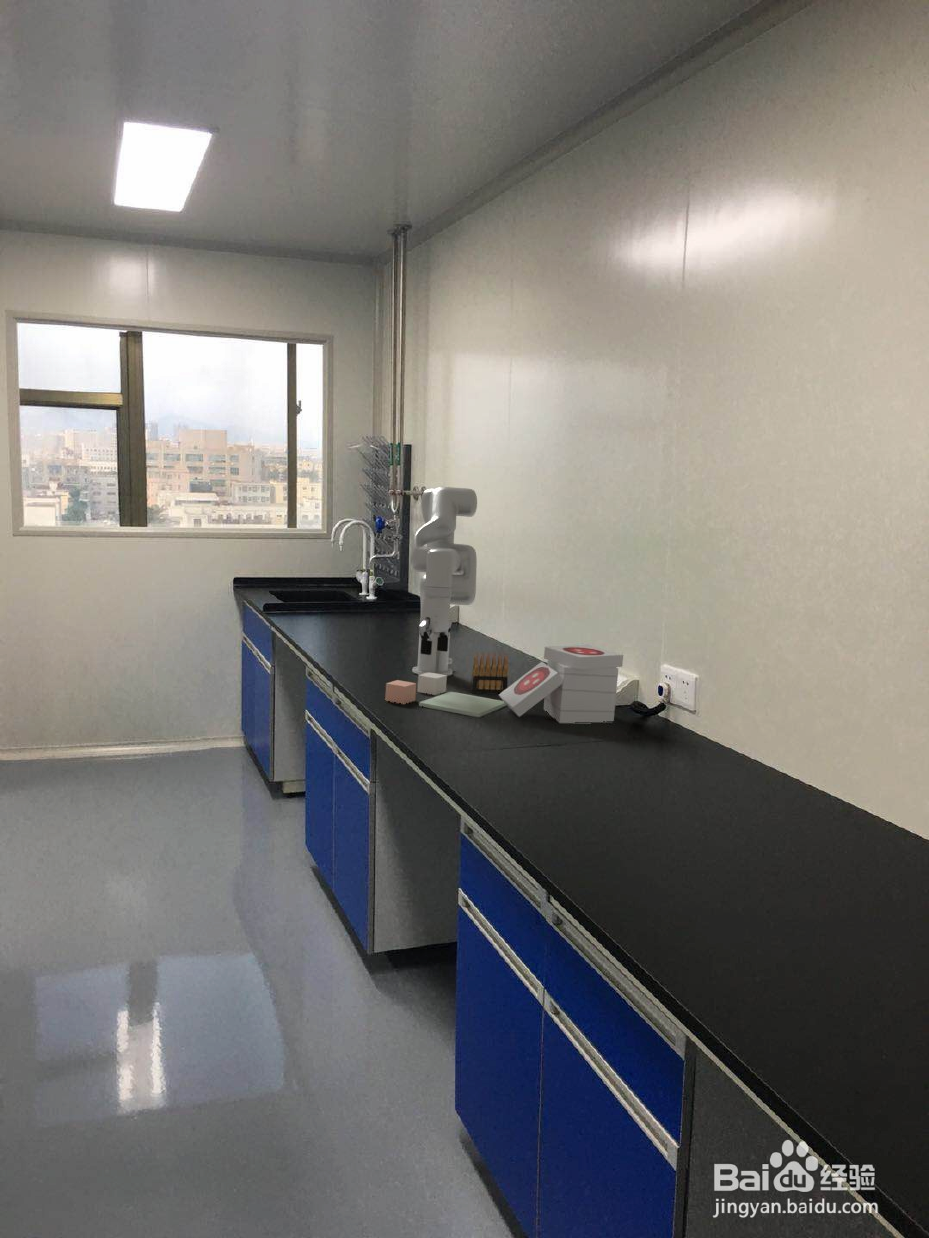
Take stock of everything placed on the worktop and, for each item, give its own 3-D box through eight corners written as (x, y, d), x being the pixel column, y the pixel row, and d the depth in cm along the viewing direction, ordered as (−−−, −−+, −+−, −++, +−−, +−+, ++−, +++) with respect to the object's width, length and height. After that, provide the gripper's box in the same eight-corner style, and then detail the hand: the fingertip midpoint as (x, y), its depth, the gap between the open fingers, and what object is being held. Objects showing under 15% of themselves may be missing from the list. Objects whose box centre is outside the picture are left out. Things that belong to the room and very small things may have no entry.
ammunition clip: (505, 692, 289) (508, 652, 288) (507, 693, 288) (510, 653, 286) (470, 691, 287) (473, 651, 285) (471, 693, 285) (474, 652, 284)
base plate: (450, 695, 281) (450, 691, 281) (507, 705, 273) (507, 701, 273) (418, 705, 265) (419, 702, 265) (478, 717, 257) (479, 713, 257)
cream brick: (427, 689, 287) (428, 672, 287) (445, 692, 285) (446, 675, 284) (417, 692, 282) (418, 675, 281) (435, 695, 279) (436, 678, 279)
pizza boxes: (495, 706, 270) (500, 642, 267) (599, 708, 276) (605, 645, 274) (513, 724, 252) (518, 655, 249) (624, 726, 258) (630, 658, 255)
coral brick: (396, 697, 274) (397, 679, 273) (415, 701, 271) (416, 683, 270) (385, 701, 268) (386, 683, 268) (404, 704, 266) (405, 686, 265)
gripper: (440, 590, 288) (436, 648, 290) (411, 593, 273) (407, 654, 275) (463, 592, 285) (459, 651, 287) (435, 595, 270) (431, 657, 272)
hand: (434, 652), depth 281 cm, fingers open, 9 cm apart
